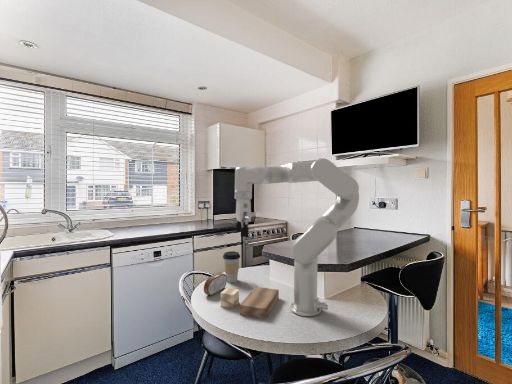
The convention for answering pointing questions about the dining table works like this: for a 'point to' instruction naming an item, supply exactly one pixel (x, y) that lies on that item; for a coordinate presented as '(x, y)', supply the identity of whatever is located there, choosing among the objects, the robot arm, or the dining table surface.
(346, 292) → the dining table surface
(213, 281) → the tin
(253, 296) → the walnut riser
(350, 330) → the dining table surface
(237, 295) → the birch cube
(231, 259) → the coffee cup
